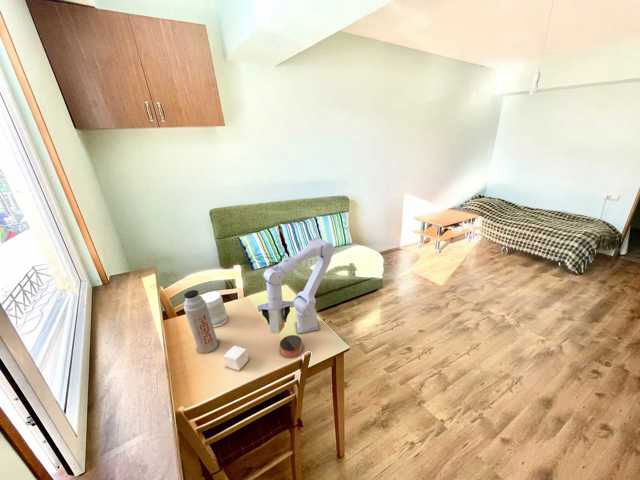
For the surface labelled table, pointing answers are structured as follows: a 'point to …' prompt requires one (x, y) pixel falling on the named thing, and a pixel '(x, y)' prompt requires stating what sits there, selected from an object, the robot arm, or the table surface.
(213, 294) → the supplement tub
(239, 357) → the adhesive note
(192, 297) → the thermos bottle
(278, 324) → the cosmetic box
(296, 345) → the terracotta tin
